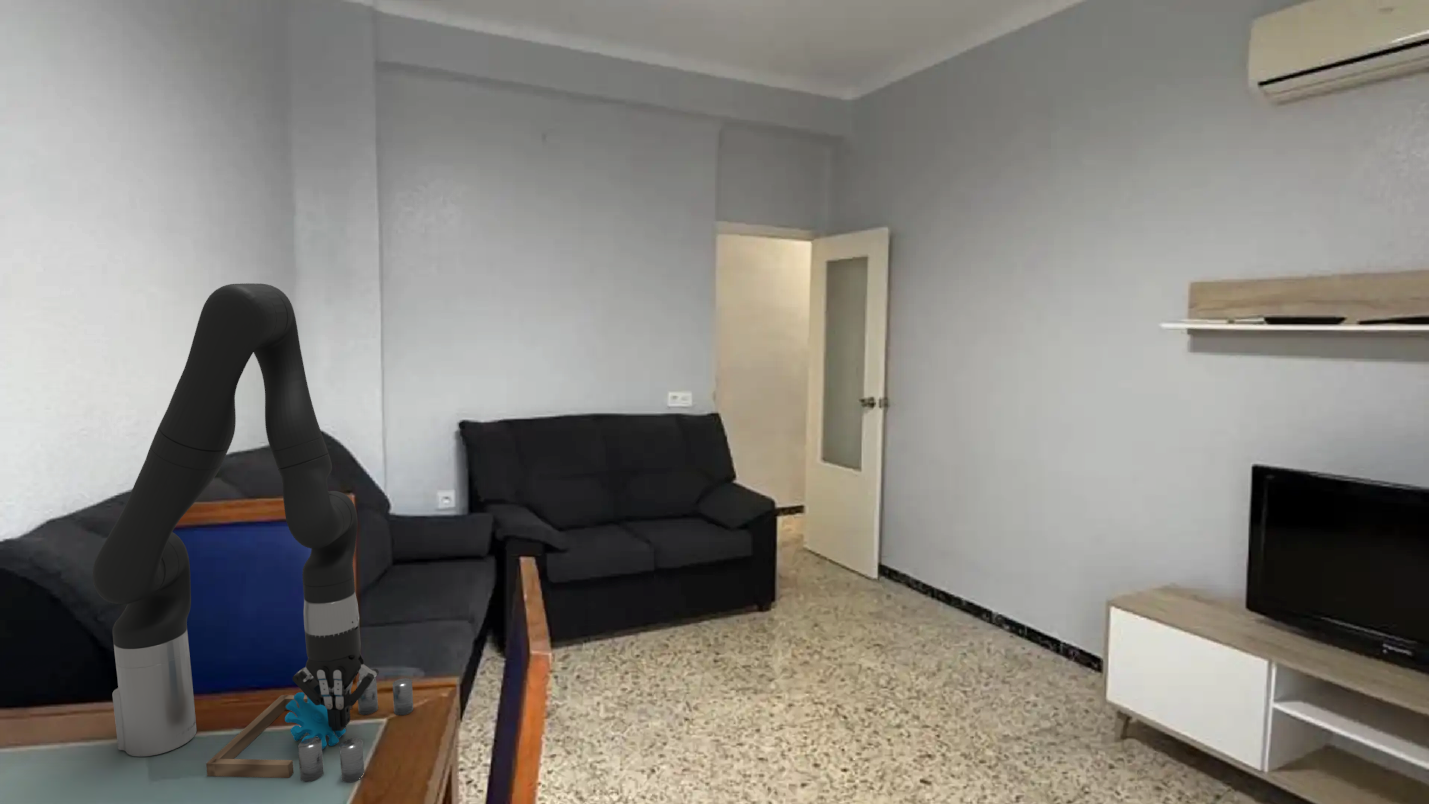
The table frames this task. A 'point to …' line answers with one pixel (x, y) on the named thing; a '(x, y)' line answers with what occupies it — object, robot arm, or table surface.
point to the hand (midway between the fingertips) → (340, 728)
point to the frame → (225, 757)
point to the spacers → (353, 747)
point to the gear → (310, 721)
